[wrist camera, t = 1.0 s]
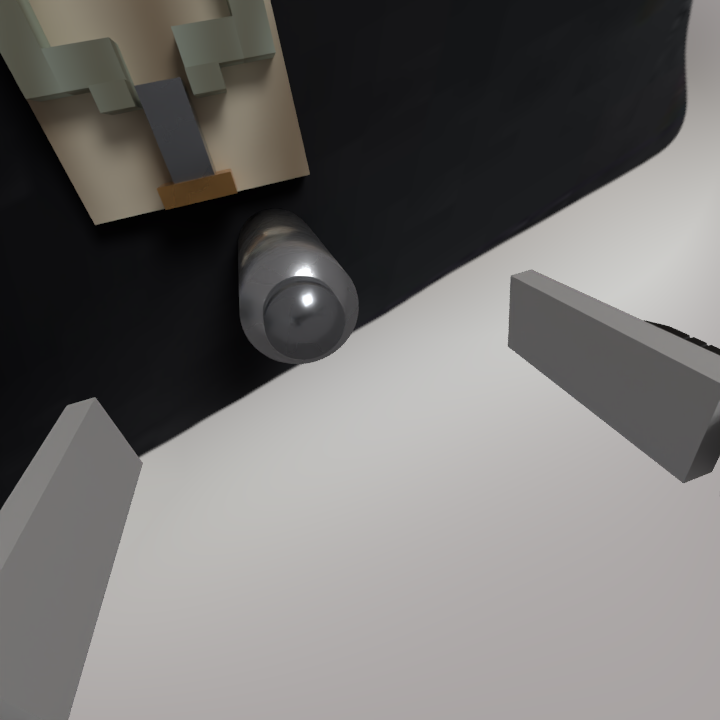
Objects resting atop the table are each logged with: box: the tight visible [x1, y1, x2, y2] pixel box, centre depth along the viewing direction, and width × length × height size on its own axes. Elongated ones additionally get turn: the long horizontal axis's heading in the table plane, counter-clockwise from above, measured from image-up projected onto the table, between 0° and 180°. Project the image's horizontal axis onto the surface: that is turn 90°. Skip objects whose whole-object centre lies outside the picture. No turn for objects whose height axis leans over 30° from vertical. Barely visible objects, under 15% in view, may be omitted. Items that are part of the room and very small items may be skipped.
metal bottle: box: [238, 208, 359, 364], centre depth 20 cm, size 5×5×12 cm
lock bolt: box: [134, 77, 237, 210], centre depth 19 cm, size 4×5×2 cm
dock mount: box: [0, 0, 310, 225], centre depth 17 cm, size 12×16×4 cm
